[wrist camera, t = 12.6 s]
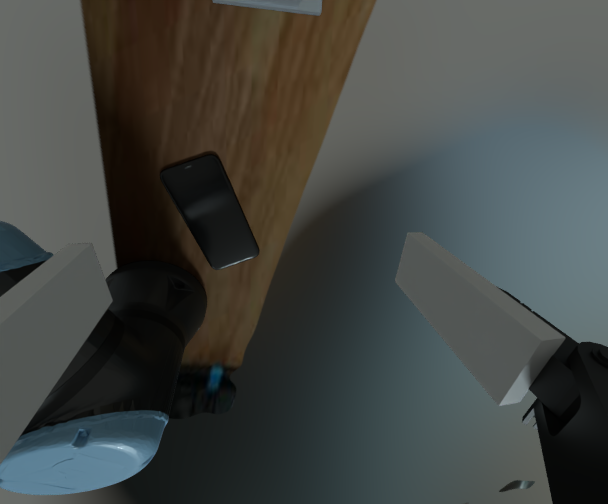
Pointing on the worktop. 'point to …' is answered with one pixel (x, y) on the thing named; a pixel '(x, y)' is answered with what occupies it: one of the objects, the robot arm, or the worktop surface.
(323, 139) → the worktop surface
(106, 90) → the worktop surface
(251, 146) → the worktop surface
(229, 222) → the smartphone
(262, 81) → the worktop surface
